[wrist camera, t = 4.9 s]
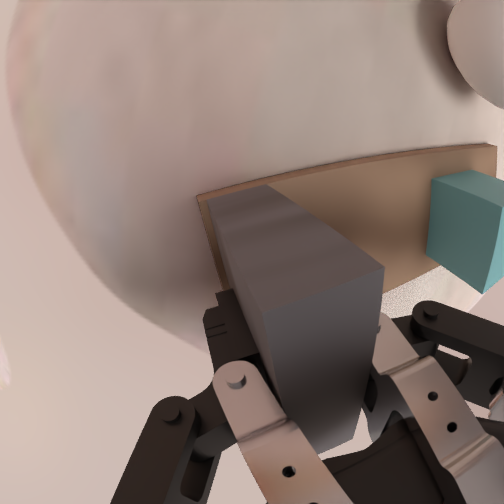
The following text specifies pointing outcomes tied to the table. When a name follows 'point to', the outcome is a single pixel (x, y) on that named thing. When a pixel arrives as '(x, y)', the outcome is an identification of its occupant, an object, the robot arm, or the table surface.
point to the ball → (479, 46)
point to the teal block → (468, 227)
